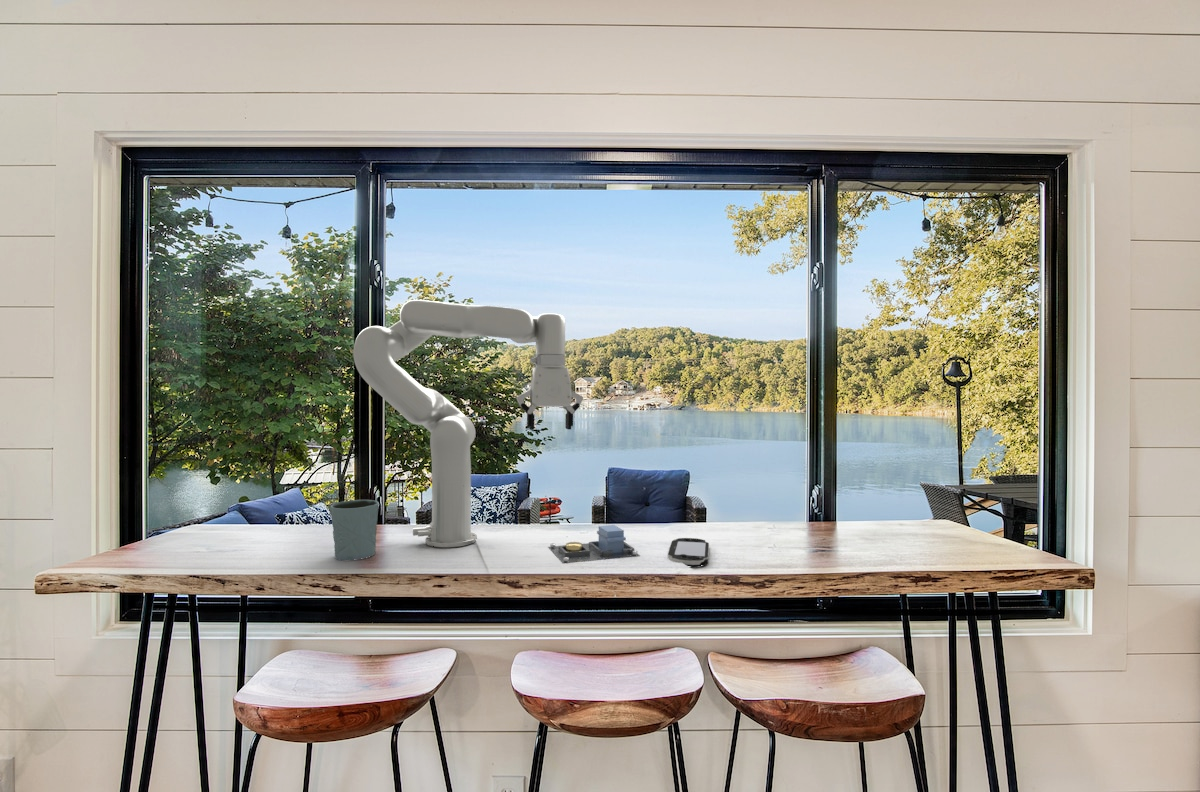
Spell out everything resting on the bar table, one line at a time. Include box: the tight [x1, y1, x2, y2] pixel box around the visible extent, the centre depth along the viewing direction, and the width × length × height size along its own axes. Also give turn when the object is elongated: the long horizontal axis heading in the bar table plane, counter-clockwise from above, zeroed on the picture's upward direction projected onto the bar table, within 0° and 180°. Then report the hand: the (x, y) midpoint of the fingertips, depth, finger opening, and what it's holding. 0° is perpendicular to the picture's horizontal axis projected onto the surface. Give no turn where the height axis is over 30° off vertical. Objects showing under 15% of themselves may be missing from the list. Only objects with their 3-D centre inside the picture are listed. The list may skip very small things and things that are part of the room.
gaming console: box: [667, 537, 710, 567], centre depth 131 cm, size 19×9×3 cm, turn 168°
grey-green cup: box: [329, 499, 380, 561], centre depth 130 cm, size 10×10×12 cm
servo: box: [596, 524, 627, 553], centre depth 132 cm, size 4×8×5 cm, turn 20°
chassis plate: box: [547, 540, 641, 564], centre depth 131 cm, size 18×14×2 cm
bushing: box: [565, 541, 583, 552], centre depth 129 cm, size 4×4×2 cm
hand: (550, 429), depth 145 cm, fingers open, 9 cm apart
